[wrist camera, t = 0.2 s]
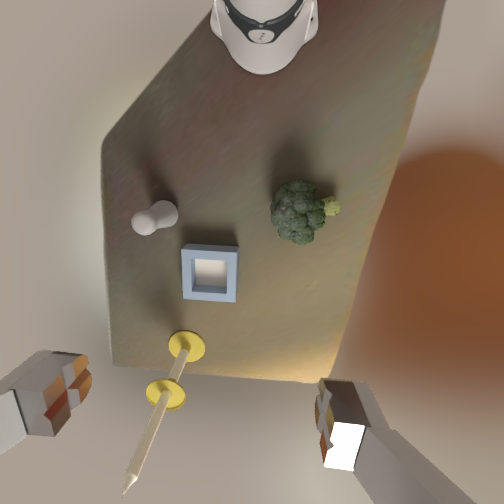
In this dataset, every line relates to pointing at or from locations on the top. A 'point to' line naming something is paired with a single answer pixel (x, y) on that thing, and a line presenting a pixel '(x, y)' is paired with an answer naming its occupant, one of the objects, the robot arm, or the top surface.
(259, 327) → the top surface
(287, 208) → the vegetable
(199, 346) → the candle
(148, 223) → the salt shaker
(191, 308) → the top surface
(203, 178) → the top surface
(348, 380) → the robot arm
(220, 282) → the container
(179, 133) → the top surface
